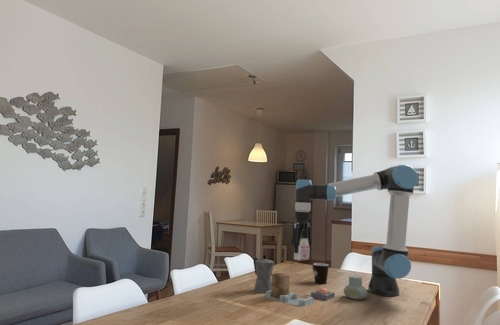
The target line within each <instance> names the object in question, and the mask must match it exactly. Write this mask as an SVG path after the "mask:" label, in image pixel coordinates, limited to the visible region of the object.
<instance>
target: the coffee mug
mask: <svg viewBox="0 0 500 325" xmlns="http://www.w3.org/2000/svg"><path fill="white" fill-rule="evenodd" d="M329 267H330V265H329V264H328V263H323V262H313V264H312V271H313V274H314V283H315V284H319V285H327V281H328V275H329Z"/></svg>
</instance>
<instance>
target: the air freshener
mask: <svg viewBox="0 0 500 325" xmlns="http://www.w3.org/2000/svg"><path fill="white" fill-rule="evenodd" d="M348 277H349V278H348V284H347V285H346V286H344V288H343V294H344V295H345V296H346V297H347V298H349V299H351V300H353V301H354V300H355V301H357V300H362V299H365V298H366V297H367V296H368V289H367V288H366V287H364V286H363V277H362V276H359V275H349V276H348Z"/></svg>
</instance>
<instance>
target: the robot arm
mask: <svg viewBox="0 0 500 325" xmlns="http://www.w3.org/2000/svg"><path fill="white" fill-rule="evenodd" d="M418 182H419V174H418V172H417V170H416V169H415V168H413V167H412V166H411V165H408V164H399V165H396V166H392V167H388V168H385V169H383V170H380V171H376V172H374V173H373V174H370V175H366V176H361V177H356V178H355V177H354V178H350V179H345V180H341V181H336V182H330V183H326V184H325V183H323V184H313V183H312V180H311V179H297V180H296V183H295V203H294V204H295V205H294V207H295V208H294V210H295V211H294V212H295V213H294V219H295V220H296V222H295V223H294V222H293V224H292V235H291V237H292V238H291V245H292V246H293V247H294V248H293V260H295V261H299V260H300V246H299V244H300V240H301V239H302V238H308V243H309V246H311V245H312V243H313V238H312V237H313V235H312V222H309V220H311V208H312V205H311V204H312V200H313V201H314V200H315V201H328V202H329V201H334V200H336V197H341V196H346V195H347V196H348V195H351V194H356V193H357V194H358V193H361V192H363V193H364V192H367V191H372V190H378V191H382V190H387V192H388V194H389V195H390V198H389V199H390V200H389V209H388V220H387V233H386V243H385V244H384V245H382V246H373V247H372V249H371V277H370V280H369V282H368V285H367V286H368V287H367V292H369V293H371V294H374V295H379V296H383V297H384V296H385V297H386V296H387V297H395V296H399V295H400V288H399V284H398V282H397V280H399V279H403V278H405V277H407V276H408V275H409V274H410V272H411V269H412V264H411V263H412V262H411V260H410V259H409V250H408V248H407V247H406V245H407V244H406V243H407V242H406V241H407V230H408V217H409V208H410V198H411V196H412V195H413V194H414V188H415V187H416V186H417V185H418ZM302 236H303V237H302ZM300 261H301V260H300Z"/></svg>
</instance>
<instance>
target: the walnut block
mask: <svg viewBox="0 0 500 325" xmlns="http://www.w3.org/2000/svg"><path fill="white" fill-rule="evenodd" d="M271 283H272V287H271V296H272V297H276V298H280V295H284V296H285V295H288V294H289V292H290V275H289V274H284V273H279V272H275V273H272V275H271Z"/></svg>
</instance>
